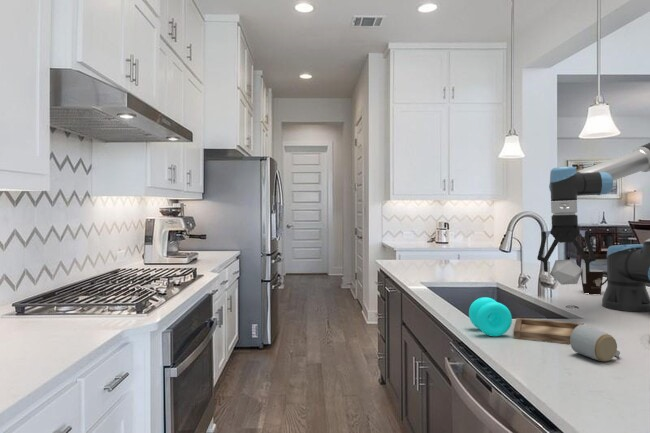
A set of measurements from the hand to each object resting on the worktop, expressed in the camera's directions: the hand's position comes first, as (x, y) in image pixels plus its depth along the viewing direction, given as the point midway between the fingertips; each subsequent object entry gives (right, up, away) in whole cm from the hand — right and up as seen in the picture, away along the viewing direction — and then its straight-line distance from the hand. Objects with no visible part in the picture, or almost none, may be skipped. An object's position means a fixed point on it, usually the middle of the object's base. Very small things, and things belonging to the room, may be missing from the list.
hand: (566, 282), depth 143 cm
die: (0, -1, 0) cm, 1 cm away
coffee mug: (+37, -12, +43) cm, 58 cm away
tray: (-14, -13, -16) cm, 24 cm away
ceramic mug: (-12, -13, -35) cm, 40 cm away
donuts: (-30, -13, -13) cm, 35 cm away
